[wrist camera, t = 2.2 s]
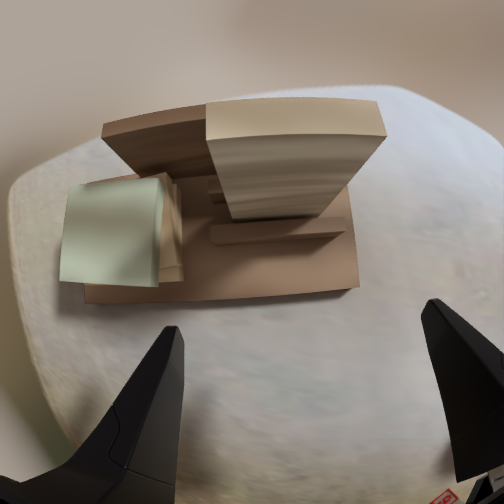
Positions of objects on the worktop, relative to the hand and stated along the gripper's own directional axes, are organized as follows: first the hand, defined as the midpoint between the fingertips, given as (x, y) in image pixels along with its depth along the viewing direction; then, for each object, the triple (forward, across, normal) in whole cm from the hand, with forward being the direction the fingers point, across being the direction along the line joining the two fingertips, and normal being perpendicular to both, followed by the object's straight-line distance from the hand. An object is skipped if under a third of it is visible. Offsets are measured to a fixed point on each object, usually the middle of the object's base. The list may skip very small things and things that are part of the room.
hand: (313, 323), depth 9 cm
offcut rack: (+13, +5, +5) cm, 15 cm away
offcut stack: (+12, +11, +4) cm, 17 cm away
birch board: (+13, 0, +3) cm, 13 cm away
